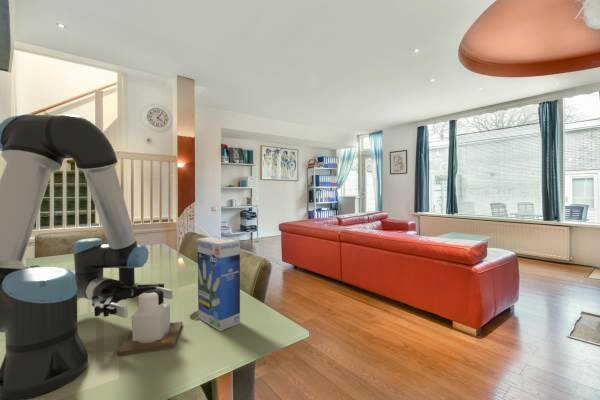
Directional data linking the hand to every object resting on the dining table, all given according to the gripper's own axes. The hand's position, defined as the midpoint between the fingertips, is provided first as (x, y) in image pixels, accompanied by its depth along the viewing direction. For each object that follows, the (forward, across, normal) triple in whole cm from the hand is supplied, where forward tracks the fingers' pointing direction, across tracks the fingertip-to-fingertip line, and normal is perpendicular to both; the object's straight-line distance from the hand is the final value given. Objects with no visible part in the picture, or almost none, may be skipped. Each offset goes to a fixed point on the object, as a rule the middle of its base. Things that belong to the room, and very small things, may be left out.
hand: (150, 302), depth 78 cm
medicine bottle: (+2, +1, -8) cm, 9 cm away
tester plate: (+2, +1, -10) cm, 10 cm away
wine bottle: (-49, -23, -10) cm, 55 cm away
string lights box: (+11, -16, -10) cm, 21 cm away
